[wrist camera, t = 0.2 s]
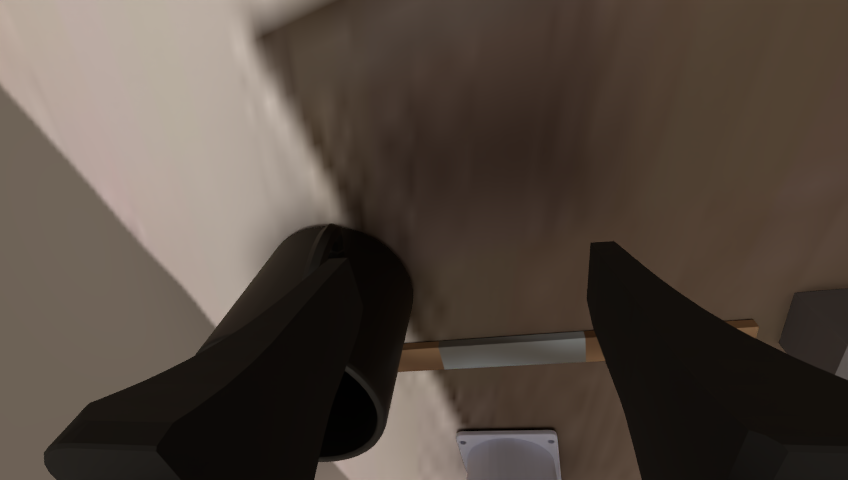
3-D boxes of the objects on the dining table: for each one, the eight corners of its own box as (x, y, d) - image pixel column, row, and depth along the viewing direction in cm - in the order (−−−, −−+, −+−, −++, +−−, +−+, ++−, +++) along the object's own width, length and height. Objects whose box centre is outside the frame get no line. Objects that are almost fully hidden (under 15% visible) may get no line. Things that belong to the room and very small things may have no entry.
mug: (437, 207, 22) (414, 323, 15) (400, 349, 29) (371, 479, 21) (272, 166, 22) (163, 262, 15) (272, 318, 29) (198, 438, 21)
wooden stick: (746, 345, 25) (751, 352, 24) (325, 369, 31) (322, 375, 31) (753, 319, 24) (759, 326, 23) (315, 349, 30) (312, 356, 30)
